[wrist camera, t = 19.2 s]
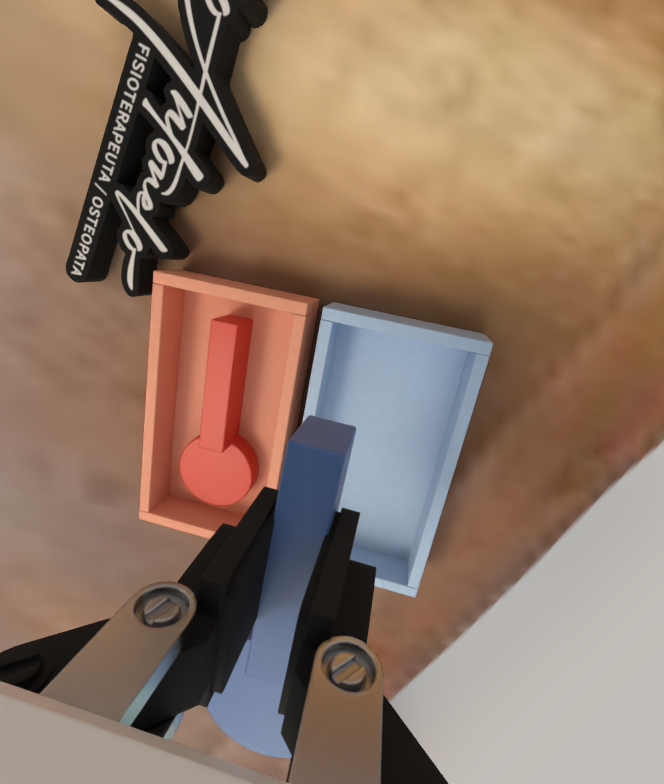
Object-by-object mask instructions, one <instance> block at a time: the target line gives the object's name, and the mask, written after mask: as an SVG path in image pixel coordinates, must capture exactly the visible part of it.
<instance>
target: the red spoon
mask: <svg viewBox="0 0 664 784" xmlns="http://www.w3.org/2000/svg"><path fill="white" fill-rule="evenodd" d="M252 325H253V320H252V319H249V318H244V317H240V316H235V315H230V314H229V315H225V316H221V317H218V318H214V319H212V320H211V328H210V338H209V348H208V358H207V368H206V378H205V388H204V398H203V408H202V418H201V429H200V435H198V436H197V437H196V438H195V439H193V440H192V441H191V442H190V443H189V444H188V445H187V446H186V447H185V448H184V450H183V452H182V454H181V458H180V473H181V477H182V479H183V481H184V483H185V485H186V487H187V488H188V489H189V491H190V492H191V493H192V494H193V495H194V496H196V497H197V498H198V499H200V500H201V501H203V502H205V503H208V504H211V505H215V506H228V505H232V504H235V503H237V502H239V501H240V500H242V499H243V498H244V497H245V496H246V495H247V493H248V492H249V491H250V489H251V488H252V487H253V485H254V483H255V482H256V479H257V476H258V470H259V467H258V460H257V457H256V454H255V452H254V450H253V448H252V447H251V445H250V444H249V443H248V442H247V441H246V440H245V439H244V438H243V437H241V436H240V435H238V434H239V426H240V418H241V411H242V403H243V395H244V387H245V380H246V372H247V364H248V356H249V348H250V341H251V333H252Z"/></svg>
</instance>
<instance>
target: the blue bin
mask: <svg viewBox="0 0 664 784" xmlns="http://www.w3.org/2000/svg"><path fill="white" fill-rule="evenodd" d="M492 347H493V343H492V342H491V341H490V340H489V339H488V338H487V337H486V335H485V334H482V333H477V332H473V331H468V330H463V329H459V328H454V327H449V326H444V325H440V324H435V323H430V322H426V321H421V320H416V319H411V318H407V317H402V316H397V315H393V314H388V313H383V312H378V311H374V310H369V309H364V308H360V307H355V306H350V305H345V304H341V303H336V302H333V303H331V304H329V305H326V306H324V307H323V310H322V316H321V321H320V326H319V332H318V338H317V343H316V349H315V354H314V360H313V365H312V371H311V377H310V382H309V388H308V393H307V399H306V405H305V410H304V416H303V421H302V423H303V422H304V421H305V419H306V418H307V417H308V416H309V415H311V416H315V417H319V418H323V419H327V420H331V421H335V422H339V423H343V424H347V425H351V426H355V427H356V434H355V438H354V442H353V447H352V451H351V456H350V460H349V464H348V469H347V473H346V478H345V482H344V486H343V491H342V495H341V500H340V504H339V508H338V512H341V509H342V508H346V509H350V510H353V511H357V512H360V517H359V521H358V525H357V530H356V534H355V538H354V543H353V547H352V551H351V556H350V560H354V561H357V562H361V563H364V564H367V565H371V566H374V567H376V577H375V584H374V586H377V587H380V588H384V589H387V590H391V591H394V592H398V593H401V594H405V595H408V596H412V597H416V594H417V591H418V588H419V584H420V581H421V578H422V575H423V571H424V568H425V565H426V562H427V558H428V555H429V552H430V549H431V545H432V542H433V539H434V536H435V532H436V529H437V526H438V523H439V519H440V516H441V513H442V510H443V506H444V503H445V500H446V497H447V493H448V490H449V487H450V484H451V480H452V477H453V474H454V471H455V467H456V464H457V461H458V458H459V454H460V451H461V448H462V444H463V441H464V438H465V435H466V431H467V428H468V425H469V422H470V418H471V415H472V412H473V409H474V405H475V402H476V399H477V396H478V392H479V389H480V386H481V383H482V379H483V376H484V373H485V370H486V366H487V363H488V360H489V355H490V353H491V350H492Z"/></svg>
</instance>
